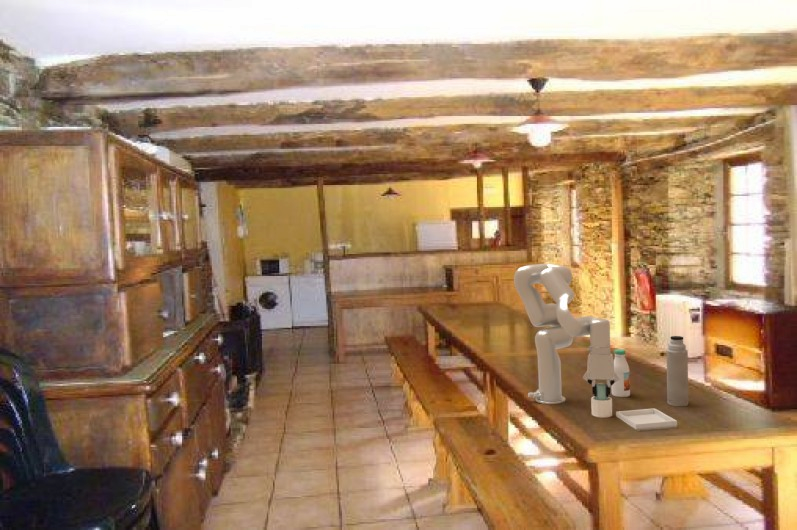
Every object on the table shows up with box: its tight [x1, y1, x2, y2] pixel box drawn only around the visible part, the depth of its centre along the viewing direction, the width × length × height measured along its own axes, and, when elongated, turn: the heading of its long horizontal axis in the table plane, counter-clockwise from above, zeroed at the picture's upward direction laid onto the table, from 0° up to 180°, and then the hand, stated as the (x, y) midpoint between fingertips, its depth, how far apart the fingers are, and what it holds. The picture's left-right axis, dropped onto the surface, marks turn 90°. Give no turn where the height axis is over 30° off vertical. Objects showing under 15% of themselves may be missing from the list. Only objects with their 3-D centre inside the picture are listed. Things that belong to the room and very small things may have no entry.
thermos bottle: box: [666, 335, 689, 407], centre depth 264 cm, size 8×8×28 cm
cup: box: [590, 395, 613, 418], centre depth 254 cm, size 8×8×7 cm
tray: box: [615, 408, 678, 432], centre depth 244 cm, size 16×16×2 cm
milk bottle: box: [610, 348, 631, 398], centre depth 281 cm, size 8×8×20 cm
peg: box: [595, 382, 607, 401], centre depth 254 cm, size 4×4×12 cm
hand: (601, 395), depth 254 cm, fingers closed on peg, 4 cm apart
